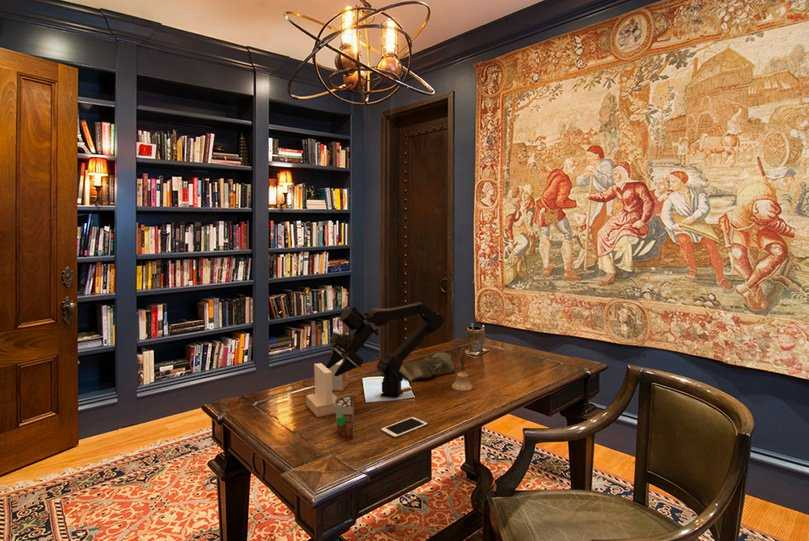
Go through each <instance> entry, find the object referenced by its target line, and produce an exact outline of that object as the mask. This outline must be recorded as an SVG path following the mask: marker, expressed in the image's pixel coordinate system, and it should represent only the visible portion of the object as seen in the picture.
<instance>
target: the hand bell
mask: <svg viewBox="0 0 809 541" xmlns="http://www.w3.org/2000/svg"><path fill="white" fill-rule="evenodd" d="M466 359H467V352H466V349H465V347H461V348H460V351H459V363H460V369H459V370H460V372H457V373H456V379H455V381H454V382H453V383H452V385H451V389H453V390H456V391H459V392H460V391H461V392H468V391H471V390H473V388H474V386H473V385H472V384H471V382H470V378H469V374H468V373H467V372H466V368H465V367H466V366H465V365H466V361H467V360H466Z"/></svg>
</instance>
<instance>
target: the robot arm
mask: <svg viewBox="0 0 809 541" xmlns="http://www.w3.org/2000/svg"><path fill="white" fill-rule="evenodd" d="M415 315H418V316H419V317H420V318H421V319H420V323H419V325H418V327H417V328H416V329H415V330H414V331H413V332H412V333H411V334H410V335H408V337H407V338H406V339H405V340H404V341H403V342H402V344H400V345H399V347H397V348H396V349H395V350H394V352H392V353H389V352H388V351H387V352H385V353H384V354H383V355H382V357H380V358H379V359H378V362H377V363H376V368H377V369H376V370H377V371H378V373H380V375H381V377H383V378H382V382H381V394H380V396H382V397H387V398H393V399H397V398H398V397H400V396H401V395H402V394H403V393H404V392H403V390H402V381H403V380H404V377H405V376H404V375H403V374H402V373H401V372H399V370H400V369H401V366H402V364H403V362H404V361H405V360H406V359H407V358H408V356H410V354H411V353H412V352H413V351H415V349H416V348H417V347H418V346H419V345H420V344H421V343H422V342H423V341H424V340H425V338H427V337H428V336H429V335H431V334H434V333H436V332H437V331H439V329H441V328H442V327H443V326H444V324H445V319H444V316H443V315H442V314H440V313H438V312H436V311H434V310H432V309H431V308H430V307H428V306H427V305H426V304H424V303H422V302H419V301H418V302H417V301H416V302H414V303H410V304H405V305H399V306H395V307H390V308H379V307H377V308H374V307H373V308H370V309H369V310H368V311H367V312H362V313H361V312H359V311H358V309H357V308H356V307H355V306H352V305H351V306H350V307H349V308H347V309H346V310H344V311H343V312H342V313H341V314H340V316H339V317H338V318H339V322H340V321H341V323H342V324H344V325H345V326H346V327H347V329H349V330H350V331H353V330H354V331H353V333H351V334H350V333H348V334H345V333H342V334H340V333H338V332H335V331H333V332H332V335H331V338H330V339H329V340H330V341H331V343H330V346H329V347H330V352H331V354H330V356H329V359H328V361H327V363H326V365H325V367H326V368H328V369H329V368H331V367H332V366H334V365H335V364H336V363H338V362H339V361H341V360H342V359H343V362H342V363H341V365H340V366H339V368H338V369H337V371H336V372H335V374H334V375H335V376H336V377H337V376H339V375H341V374H343V373H345V372H347V371H348V372H349V371H352V370H354V369H357V368H361V367H362V365H363V364H364V359H363V358H362V357H361V356H360V355H358V352H360V350H361V348H362V349H364V348H365V347H366V346H365V344H366V342H367V341H368V340H369V339H370V337H371V336H372V335H374V336H375V337H379V328H378V327H382V326H385V325H388V324H389V323H390V322H391V321H393V320H397V319H402V318H406V317H411V316H415ZM372 325H374V326H375V327H373V326H372Z"/></svg>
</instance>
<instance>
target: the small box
mask: <svg viewBox="0 0 809 541" xmlns="http://www.w3.org/2000/svg"><path fill="white" fill-rule="evenodd" d="M342 362H343V359H342V360H341V361H339V362H338V363H336V364H335V365H334V366H332V367H331V368H329V370H330V371H331V372H332V391H339V392H340V391H341V392H342V391H344V389H346V387H347V386H349V371H347V372H345V373H343V374H341V375H339V376H337V377H336V376H335V375H334V374H335V372H336V371H337V369H338V368H339V366H340V365H341V363H342Z"/></svg>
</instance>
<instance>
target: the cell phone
mask: <svg viewBox="0 0 809 541" xmlns="http://www.w3.org/2000/svg"><path fill="white" fill-rule="evenodd" d="M427 425H428V426H429V423H428V421H425V420H423V419H421V418H419V417H417V416H409V417H407V418H404V419H402V420H398V421H397V422H394V423H391V424H388V425H386V426H383V427H381V428H380V429H379V430H380V431H379V432H380V433H383V434H384V435H387V437H390V438H392V439H394V438H396V439H399V438H402V437H404V436H406V435H409V434H411V433H413V431H414V432H416V431H417V429H419V430H420V428H421V429H423V428H422V427H424V426H426V427H428V426H427ZM424 428H425V427H424ZM415 430H416V431H415ZM410 432H411V433H410ZM408 433H409V434H408ZM403 435H404V436H403ZM398 437H399V438H398Z"/></svg>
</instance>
